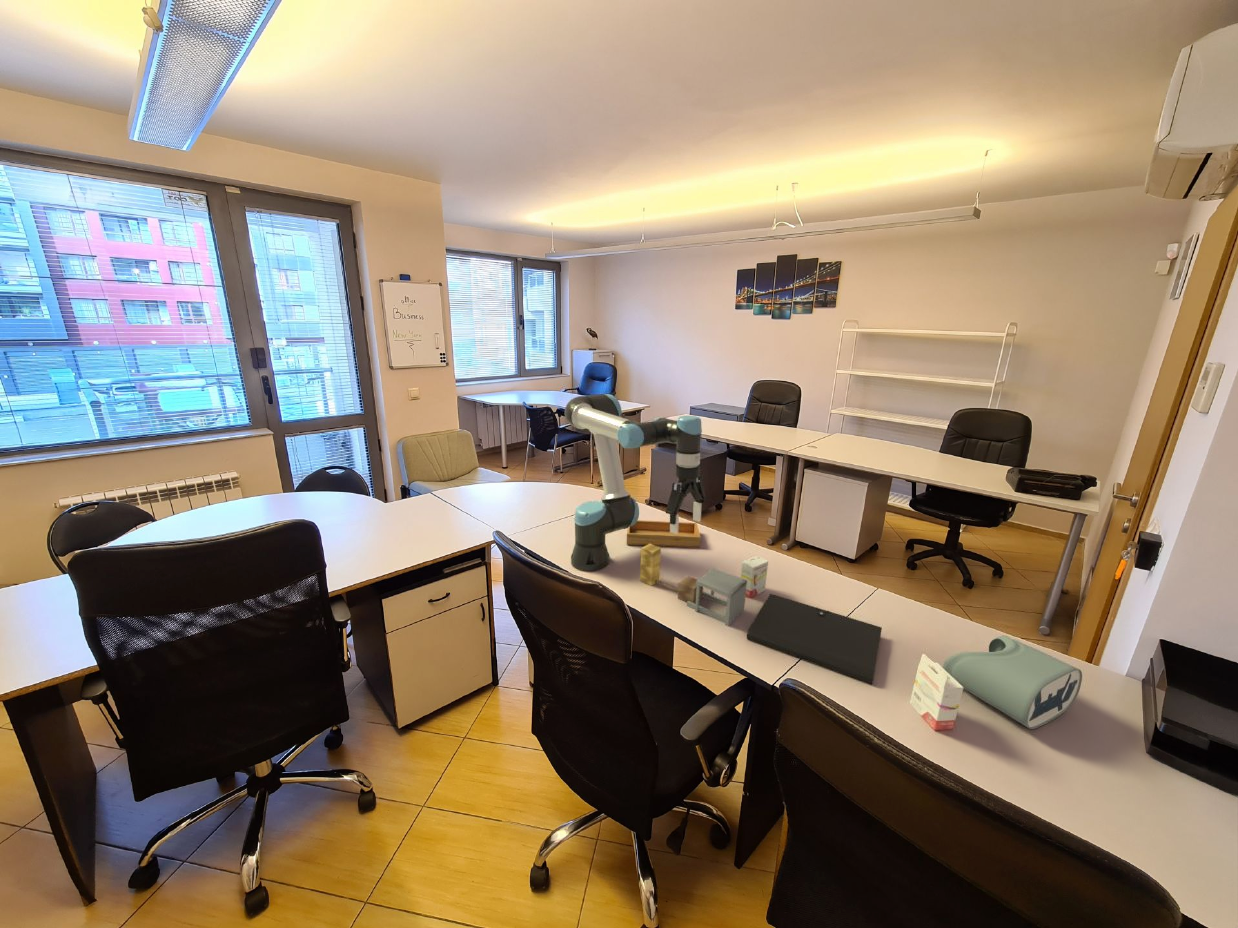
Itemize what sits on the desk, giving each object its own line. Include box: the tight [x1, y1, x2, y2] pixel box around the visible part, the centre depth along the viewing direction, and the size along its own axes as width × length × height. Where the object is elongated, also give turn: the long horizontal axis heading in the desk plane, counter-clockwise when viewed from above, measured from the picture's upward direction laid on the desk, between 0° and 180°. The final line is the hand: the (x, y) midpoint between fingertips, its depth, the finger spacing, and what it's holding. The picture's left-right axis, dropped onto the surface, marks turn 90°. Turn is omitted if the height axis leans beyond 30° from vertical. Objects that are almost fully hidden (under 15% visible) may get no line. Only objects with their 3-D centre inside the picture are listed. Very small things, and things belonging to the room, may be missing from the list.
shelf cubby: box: [686, 567, 747, 627], centre depth 150 cm, size 16×11×11 cm
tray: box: [626, 519, 701, 548], centre depth 201 cm, size 31×15×6 cm, turn 87°
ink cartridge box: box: [909, 653, 964, 731], centre depth 109 cm, size 9×5×15 cm, turn 5°
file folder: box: [746, 593, 883, 685], centre depth 138 cm, size 33×4×24 cm
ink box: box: [740, 555, 769, 599], centre depth 160 cm, size 9×5×12 cm, turn 126°
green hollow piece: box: [941, 635, 1083, 730], centre depth 116 cm, size 22×19×13 cm
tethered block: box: [639, 544, 704, 604], centre depth 161 cm, size 22×6×13 cm, turn 50°
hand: (685, 526), depth 154 cm, fingers open, 13 cm apart
